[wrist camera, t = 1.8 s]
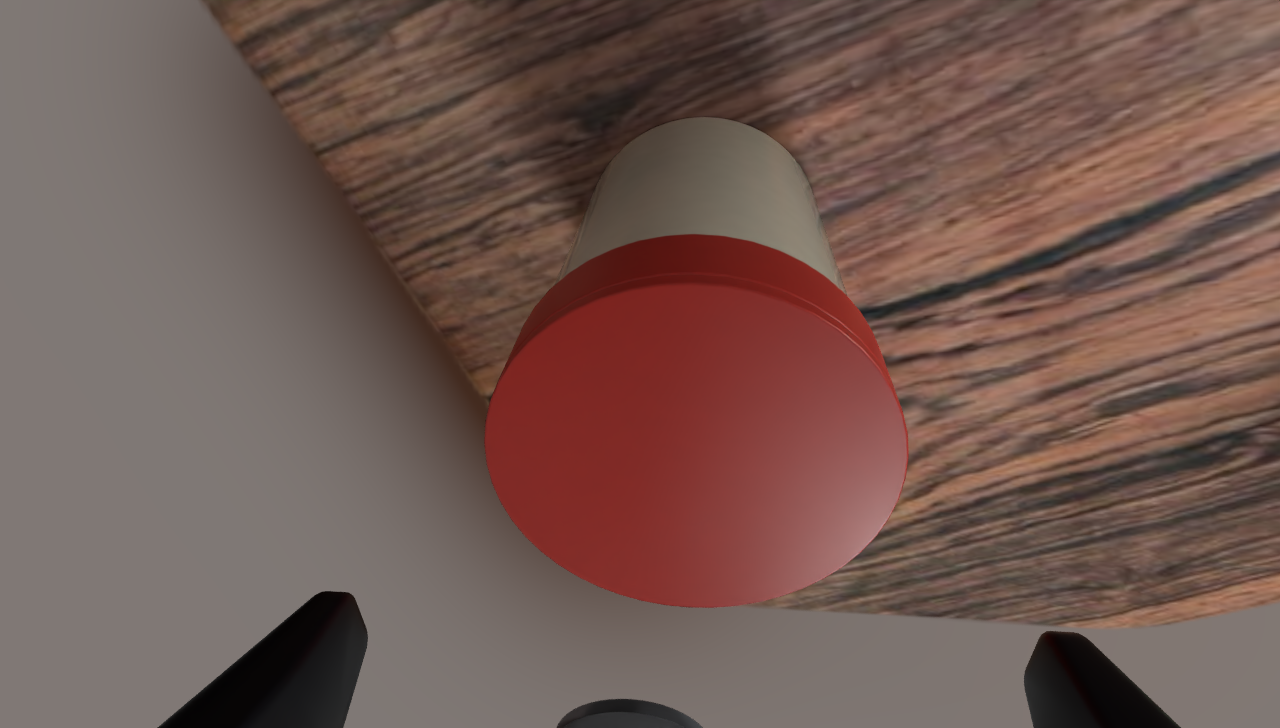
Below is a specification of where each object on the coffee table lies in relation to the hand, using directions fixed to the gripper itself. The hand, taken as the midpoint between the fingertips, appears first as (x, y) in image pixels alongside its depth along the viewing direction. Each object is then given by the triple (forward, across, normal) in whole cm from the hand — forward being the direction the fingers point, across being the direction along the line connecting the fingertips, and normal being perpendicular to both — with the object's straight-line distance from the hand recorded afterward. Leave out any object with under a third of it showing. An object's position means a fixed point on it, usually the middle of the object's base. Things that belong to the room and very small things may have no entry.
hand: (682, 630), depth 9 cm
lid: (+3, 0, 0) cm, 3 cm away
